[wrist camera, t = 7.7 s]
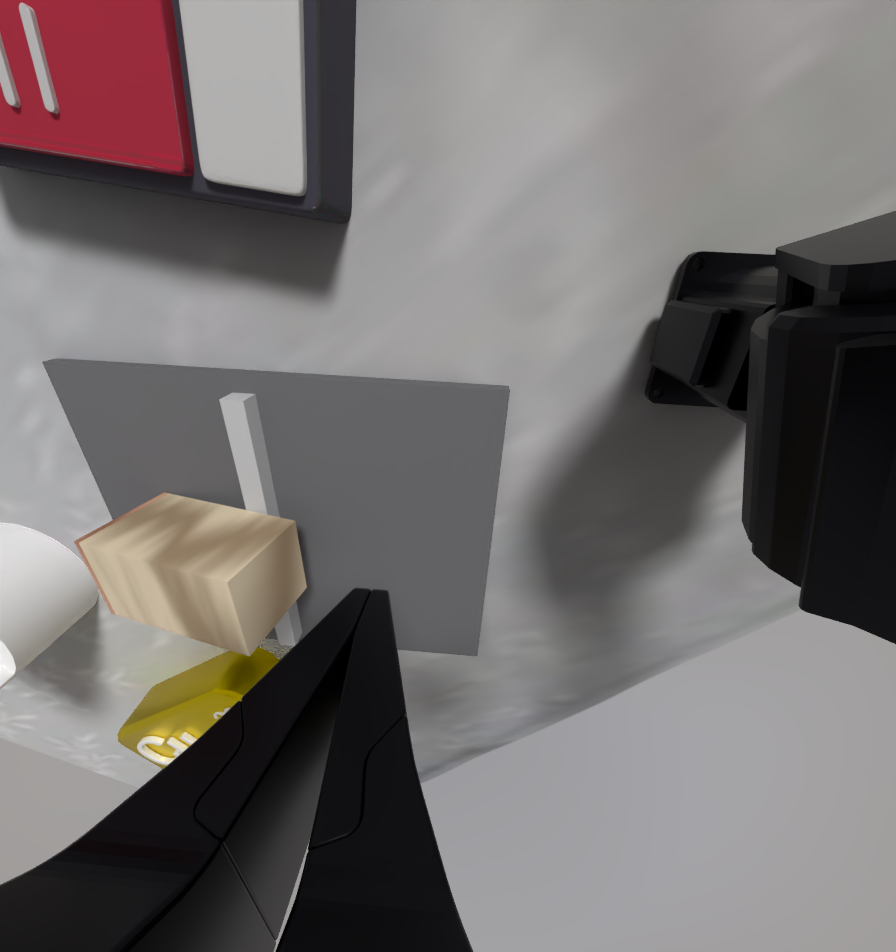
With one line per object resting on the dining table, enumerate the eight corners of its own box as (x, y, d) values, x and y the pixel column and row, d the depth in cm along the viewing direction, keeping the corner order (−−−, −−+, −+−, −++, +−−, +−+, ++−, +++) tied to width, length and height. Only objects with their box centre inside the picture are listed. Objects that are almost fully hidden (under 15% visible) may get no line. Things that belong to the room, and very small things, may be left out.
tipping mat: (508, 386, 20) (511, 397, 18) (477, 646, 29) (477, 671, 28) (57, 358, 21) (18, 367, 19) (169, 620, 30) (150, 642, 28)
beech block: (227, 582, 17) (73, 541, 19) (249, 656, 20) (111, 613, 22) (295, 520, 21) (164, 492, 23) (307, 587, 24) (187, 556, 26)
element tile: (260, 765, 41) (236, 822, 37) (144, 687, 36) (99, 743, 31) (371, 730, 37) (357, 791, 32) (257, 634, 31) (222, 692, 27)
